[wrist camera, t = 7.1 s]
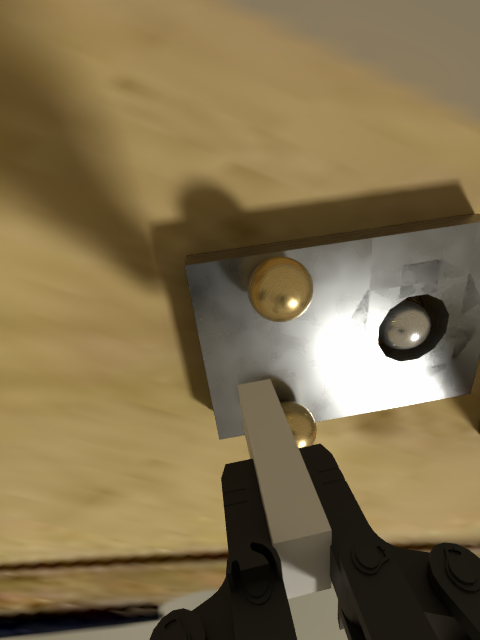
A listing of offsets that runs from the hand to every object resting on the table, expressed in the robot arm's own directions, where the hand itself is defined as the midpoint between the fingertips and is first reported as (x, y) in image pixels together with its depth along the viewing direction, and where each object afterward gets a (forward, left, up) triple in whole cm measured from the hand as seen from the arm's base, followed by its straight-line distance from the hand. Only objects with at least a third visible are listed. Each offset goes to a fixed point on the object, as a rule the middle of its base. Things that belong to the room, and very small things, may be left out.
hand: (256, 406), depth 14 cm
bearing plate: (+7, 0, -7) cm, 10 cm away
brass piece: (+2, -5, -3) cm, 6 cm away
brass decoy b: (+2, +4, -3) cm, 6 cm away
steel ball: (+10, 0, -5) cm, 12 cm away
